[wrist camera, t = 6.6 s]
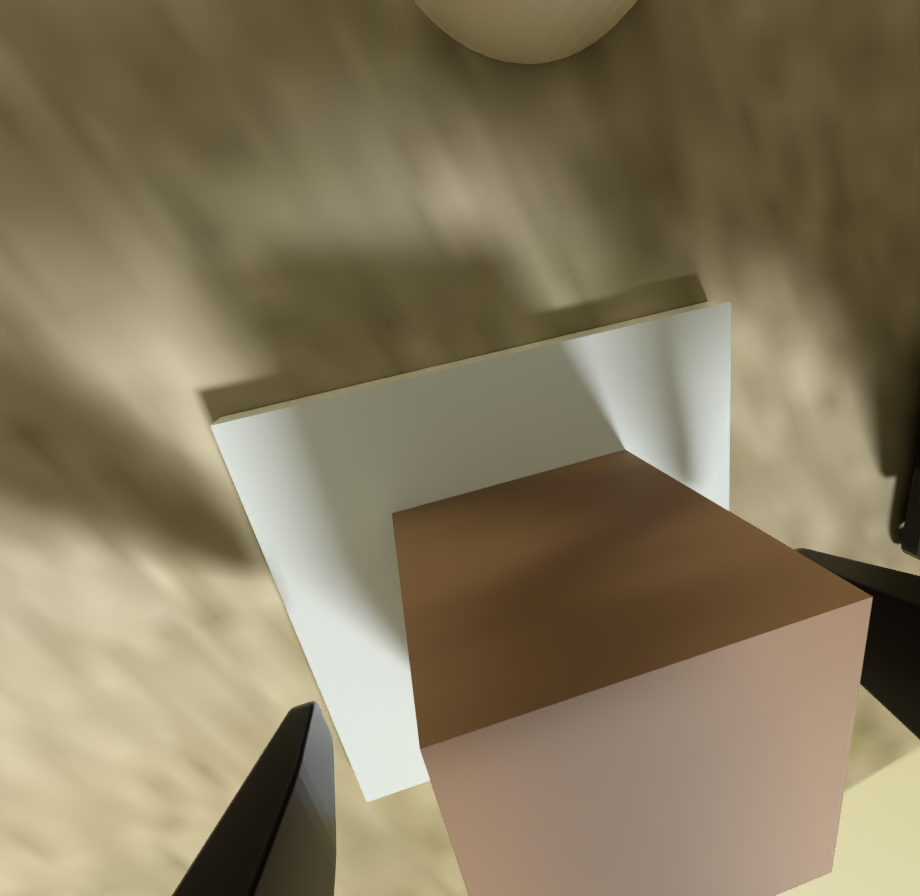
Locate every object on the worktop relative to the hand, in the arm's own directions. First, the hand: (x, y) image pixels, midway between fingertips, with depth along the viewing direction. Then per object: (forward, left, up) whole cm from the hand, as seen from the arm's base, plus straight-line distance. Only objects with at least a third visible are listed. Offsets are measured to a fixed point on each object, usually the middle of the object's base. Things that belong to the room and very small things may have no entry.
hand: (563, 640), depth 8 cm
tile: (0, 0, -2) cm, 2 cm away
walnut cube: (0, 0, -2) cm, 2 cm away
